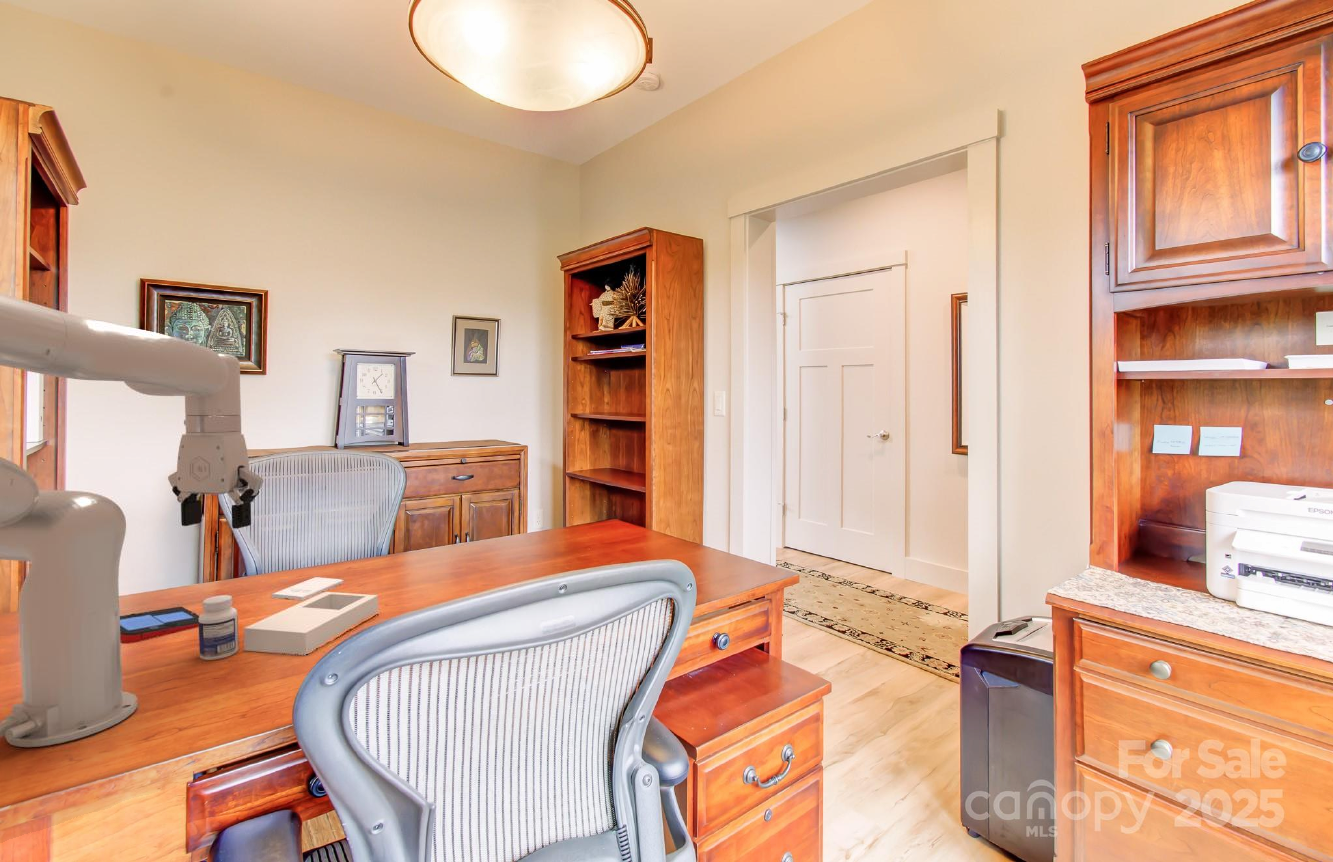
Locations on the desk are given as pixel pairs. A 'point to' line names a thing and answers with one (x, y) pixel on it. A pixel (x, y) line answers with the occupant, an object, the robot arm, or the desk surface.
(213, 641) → the pill bottle
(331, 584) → the external hard drive
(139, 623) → the game console
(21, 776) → the desk surface
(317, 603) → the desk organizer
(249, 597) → the desk surface
